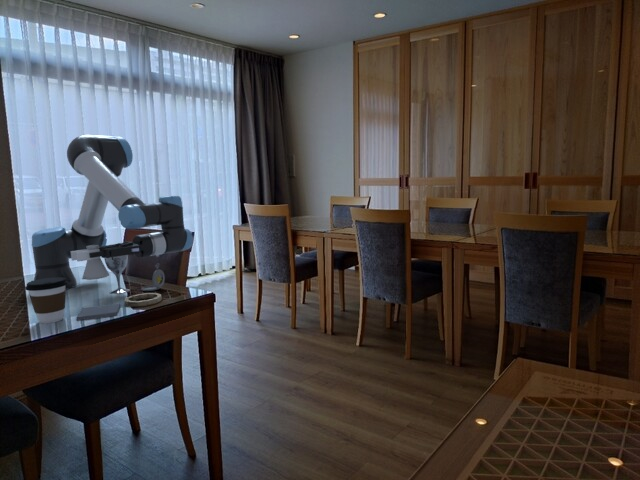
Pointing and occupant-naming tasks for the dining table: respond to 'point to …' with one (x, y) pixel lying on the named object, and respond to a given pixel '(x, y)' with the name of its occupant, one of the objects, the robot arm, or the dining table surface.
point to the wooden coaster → (132, 303)
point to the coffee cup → (48, 298)
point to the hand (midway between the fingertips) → (74, 256)
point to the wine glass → (117, 270)
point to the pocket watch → (156, 280)
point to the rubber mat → (98, 311)
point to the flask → (94, 267)
